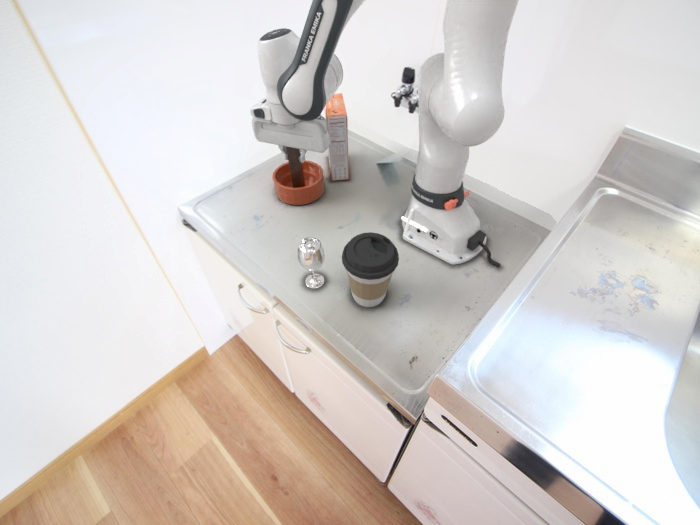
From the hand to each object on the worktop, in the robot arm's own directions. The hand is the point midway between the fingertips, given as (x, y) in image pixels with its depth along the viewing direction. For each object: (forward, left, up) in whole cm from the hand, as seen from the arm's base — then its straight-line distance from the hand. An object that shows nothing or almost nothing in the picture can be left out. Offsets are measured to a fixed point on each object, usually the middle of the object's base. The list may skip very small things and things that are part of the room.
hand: (295, 160), depth 93 cm
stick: (0, 0, -10) cm, 10 cm away
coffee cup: (-40, +9, -12) cm, 43 cm away
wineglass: (-29, +16, -12) cm, 35 cm away
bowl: (+2, -1, -12) cm, 12 cm away
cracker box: (+4, -17, -12) cm, 21 cm away
